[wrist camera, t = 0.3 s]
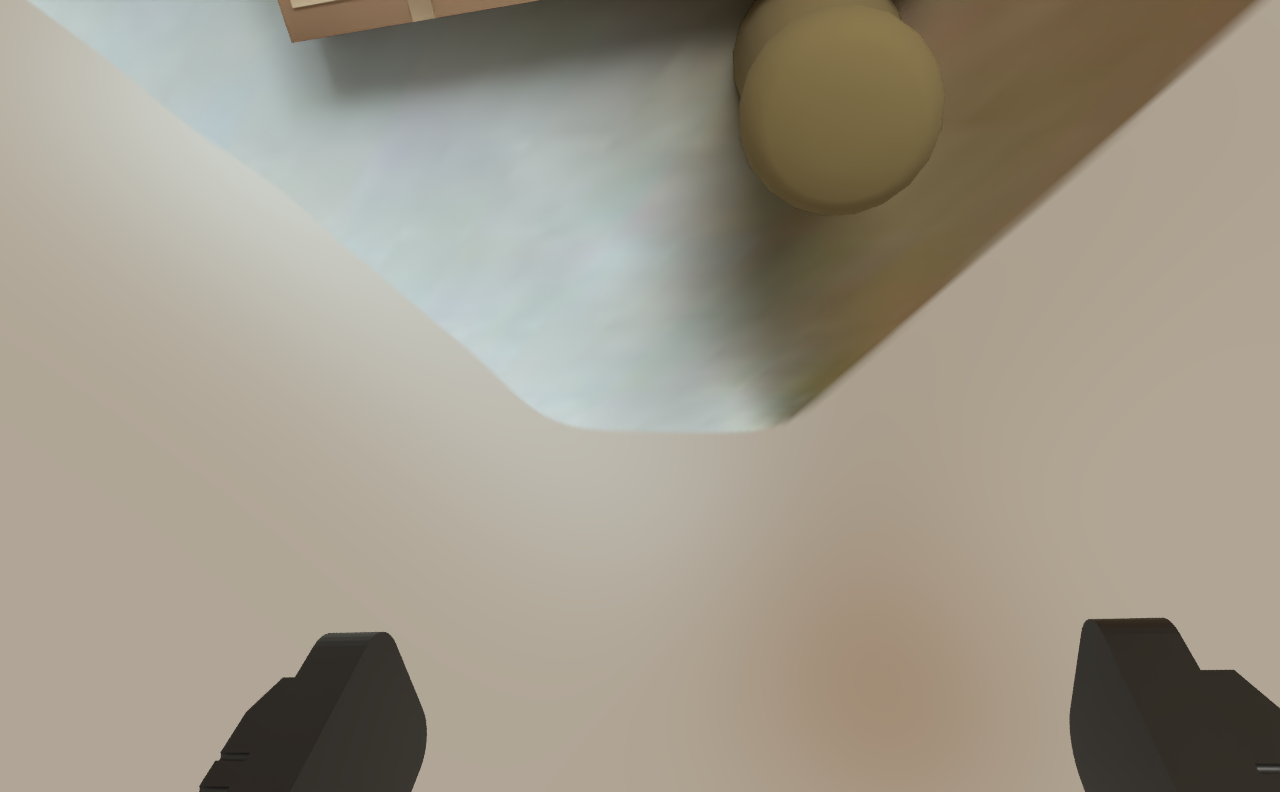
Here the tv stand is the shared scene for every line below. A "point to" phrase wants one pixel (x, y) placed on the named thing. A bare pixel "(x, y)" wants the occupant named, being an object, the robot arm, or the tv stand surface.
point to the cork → (835, 101)
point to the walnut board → (370, 14)
